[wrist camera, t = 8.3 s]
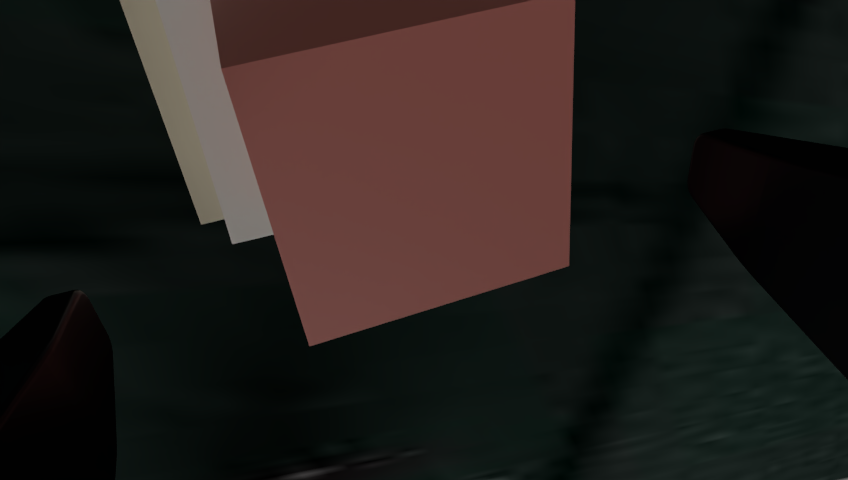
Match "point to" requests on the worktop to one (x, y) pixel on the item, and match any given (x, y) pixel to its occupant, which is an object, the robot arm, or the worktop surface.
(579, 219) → the worktop surface
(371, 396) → the worktop surface
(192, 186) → the tower base
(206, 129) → the tower top
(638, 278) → the worktop surface
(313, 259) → the red cube
